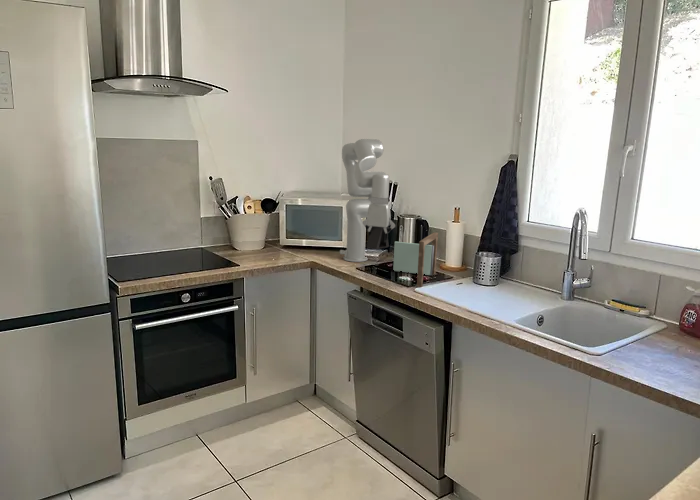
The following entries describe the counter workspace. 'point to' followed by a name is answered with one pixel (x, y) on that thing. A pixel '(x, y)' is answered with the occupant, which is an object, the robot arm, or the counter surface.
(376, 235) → the door stopper
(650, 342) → the counter surface
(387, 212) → the robot arm
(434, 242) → the door frame
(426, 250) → the door
